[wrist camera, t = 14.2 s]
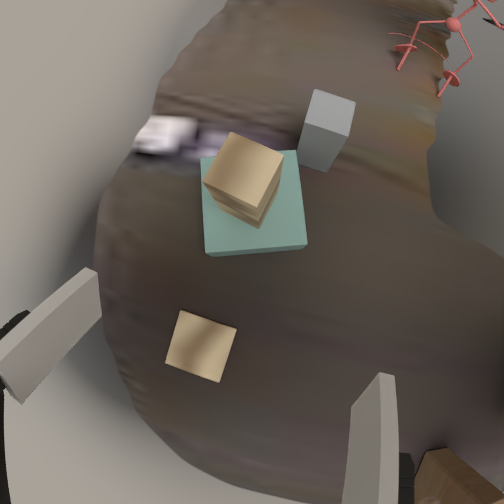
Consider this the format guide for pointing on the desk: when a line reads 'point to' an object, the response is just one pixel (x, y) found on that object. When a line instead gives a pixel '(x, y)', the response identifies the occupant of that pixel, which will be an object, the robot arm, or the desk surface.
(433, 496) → the decorative block
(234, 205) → the maple pillar
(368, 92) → the desk surface
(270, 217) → the teal base block
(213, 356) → the maple swatch tile
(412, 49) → the figurine
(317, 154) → the slate-grey pillar
